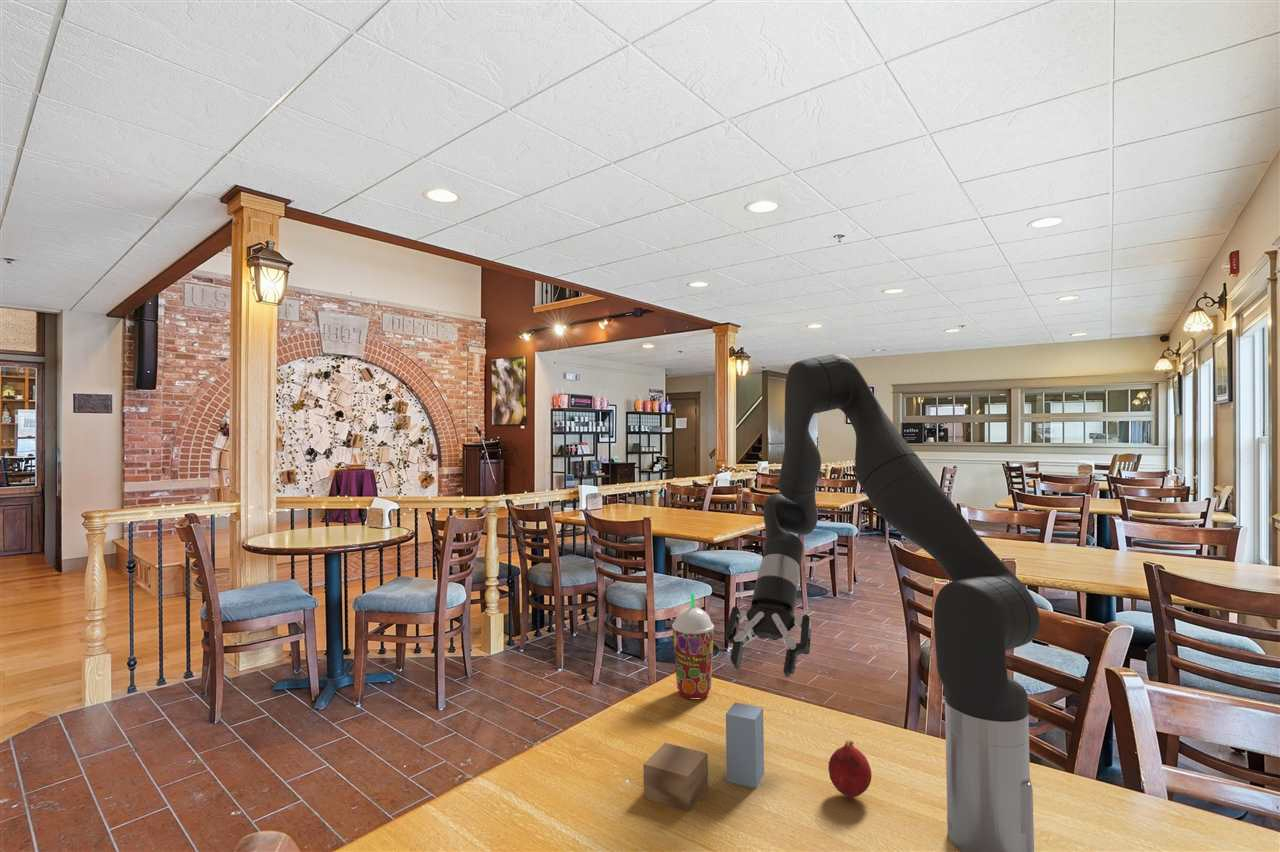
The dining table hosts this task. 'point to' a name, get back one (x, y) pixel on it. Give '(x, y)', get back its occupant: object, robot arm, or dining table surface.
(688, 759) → the walnut block
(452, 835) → the dining table surface
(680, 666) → the smoothie
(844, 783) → the onion
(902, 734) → the dining table surface
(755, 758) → the pillar
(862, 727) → the dining table surface
